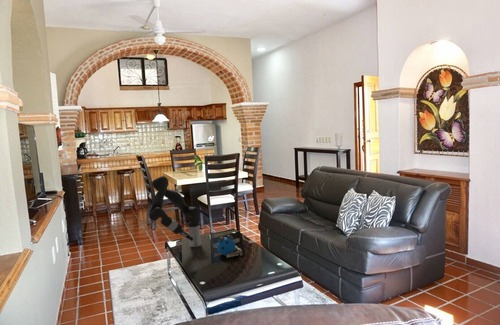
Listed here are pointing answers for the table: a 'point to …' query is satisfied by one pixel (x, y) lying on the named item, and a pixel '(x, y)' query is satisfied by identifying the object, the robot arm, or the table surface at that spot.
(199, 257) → the table surface
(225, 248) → the alarm clock
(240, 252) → the wooden staple shape
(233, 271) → the table surface
